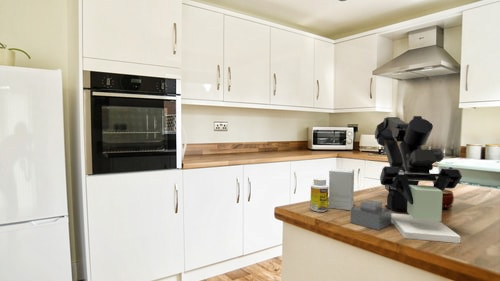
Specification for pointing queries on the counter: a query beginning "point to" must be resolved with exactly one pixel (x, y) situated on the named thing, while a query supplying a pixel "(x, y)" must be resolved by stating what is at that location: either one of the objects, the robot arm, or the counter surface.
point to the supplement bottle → (319, 195)
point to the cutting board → (423, 229)
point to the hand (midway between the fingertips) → (425, 204)
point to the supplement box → (341, 188)
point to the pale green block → (425, 203)
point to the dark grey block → (371, 215)
